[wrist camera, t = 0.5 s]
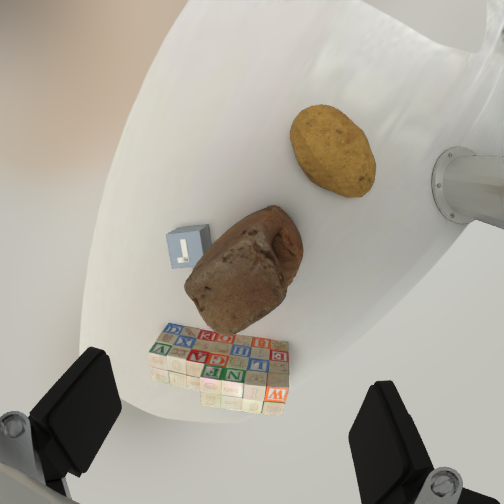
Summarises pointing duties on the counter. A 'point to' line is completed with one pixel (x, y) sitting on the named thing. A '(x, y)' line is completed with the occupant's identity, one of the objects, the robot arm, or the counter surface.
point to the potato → (333, 151)
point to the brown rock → (246, 271)
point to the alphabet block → (188, 245)
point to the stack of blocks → (224, 368)
